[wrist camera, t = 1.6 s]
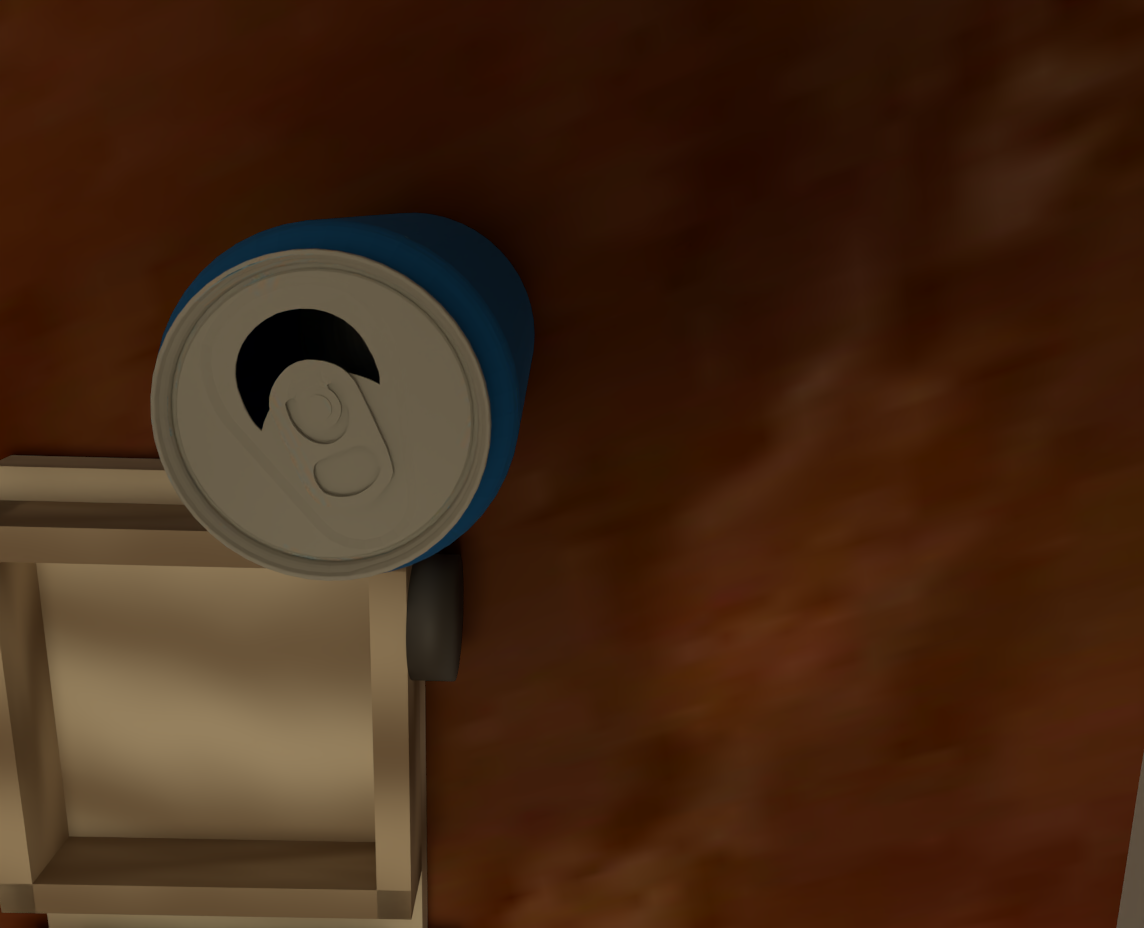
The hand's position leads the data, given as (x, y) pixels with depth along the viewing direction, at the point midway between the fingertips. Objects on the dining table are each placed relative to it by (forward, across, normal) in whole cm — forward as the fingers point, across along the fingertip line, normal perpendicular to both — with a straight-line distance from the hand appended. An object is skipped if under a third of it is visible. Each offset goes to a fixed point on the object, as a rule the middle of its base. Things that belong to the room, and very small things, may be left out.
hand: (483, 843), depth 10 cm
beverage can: (+20, -3, +3) cm, 20 cm away
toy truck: (+19, -10, -12) cm, 25 cm away
